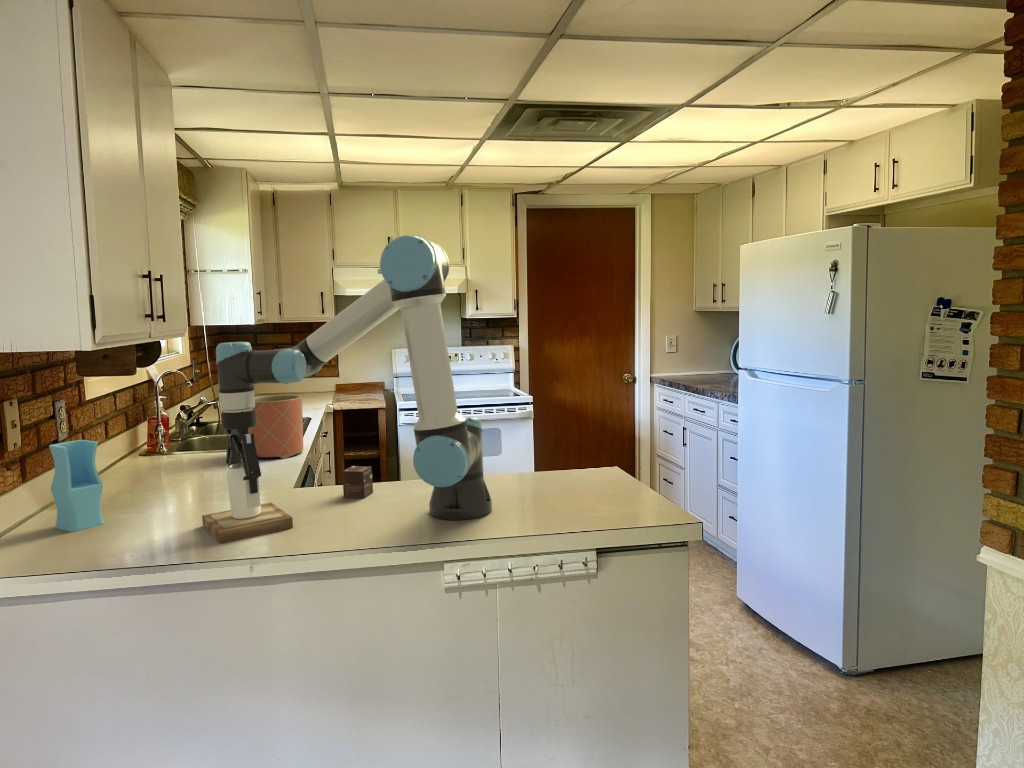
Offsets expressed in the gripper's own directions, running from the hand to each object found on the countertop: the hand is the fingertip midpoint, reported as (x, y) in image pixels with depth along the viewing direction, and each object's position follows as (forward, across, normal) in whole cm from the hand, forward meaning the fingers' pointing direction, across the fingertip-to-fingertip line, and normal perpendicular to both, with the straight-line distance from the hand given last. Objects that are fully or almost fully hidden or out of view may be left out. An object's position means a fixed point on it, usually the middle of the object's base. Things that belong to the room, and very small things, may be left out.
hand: (245, 500), depth 160 cm
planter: (+6, +78, -31) cm, 84 cm away
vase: (+6, +29, +31) cm, 43 cm away
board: (+6, 0, 0) cm, 6 cm away
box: (+7, +8, -31) cm, 33 cm away
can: (+4, 0, 0) cm, 4 cm away
